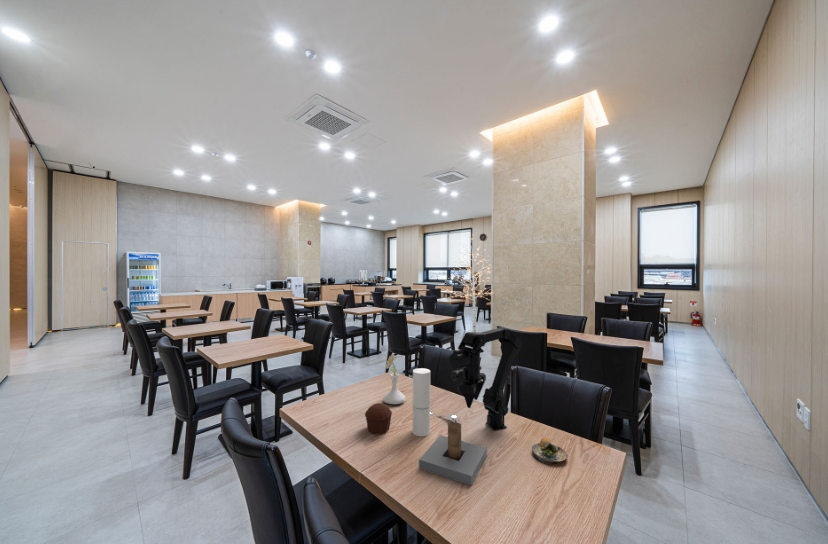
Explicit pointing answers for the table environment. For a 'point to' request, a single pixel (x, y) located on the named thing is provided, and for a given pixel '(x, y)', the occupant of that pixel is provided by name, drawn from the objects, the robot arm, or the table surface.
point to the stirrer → (452, 417)
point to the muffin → (378, 418)
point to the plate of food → (548, 452)
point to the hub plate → (453, 461)
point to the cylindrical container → (421, 402)
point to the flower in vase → (393, 386)
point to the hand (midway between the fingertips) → (472, 403)
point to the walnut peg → (454, 440)
